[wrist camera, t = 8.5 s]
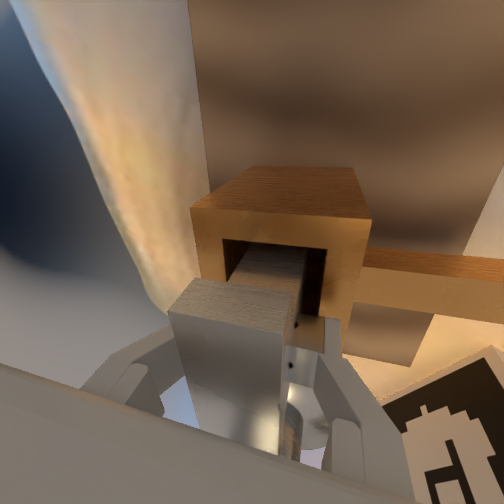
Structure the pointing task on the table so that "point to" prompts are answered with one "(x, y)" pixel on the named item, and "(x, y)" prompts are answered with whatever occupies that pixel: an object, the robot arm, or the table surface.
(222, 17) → the base board
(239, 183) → the ringlock node
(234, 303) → the wedge pin
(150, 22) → the table surface
